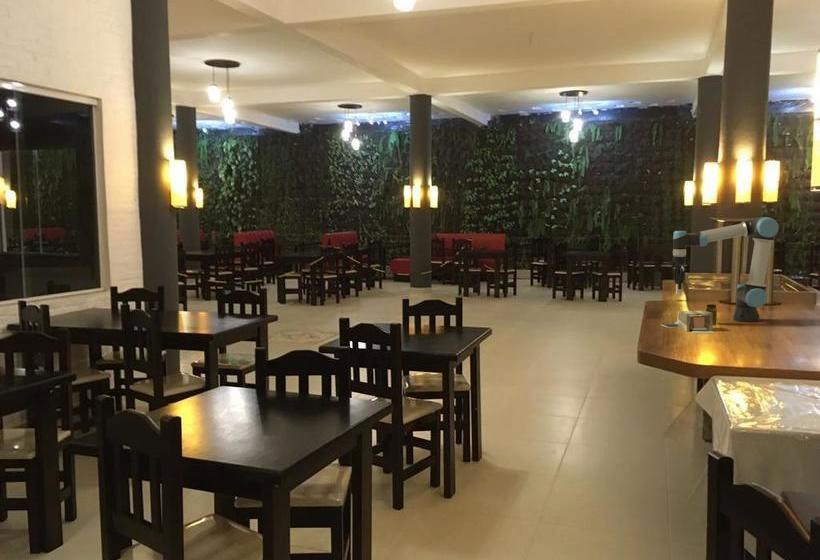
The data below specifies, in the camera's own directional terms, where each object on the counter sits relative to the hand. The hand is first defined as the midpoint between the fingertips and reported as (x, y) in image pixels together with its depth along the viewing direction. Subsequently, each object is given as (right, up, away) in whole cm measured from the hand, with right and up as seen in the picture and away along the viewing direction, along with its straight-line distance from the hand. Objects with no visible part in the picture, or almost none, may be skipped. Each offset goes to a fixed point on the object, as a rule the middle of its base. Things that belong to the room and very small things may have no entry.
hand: (678, 294), depth 425 cm
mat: (+2, -21, -31) cm, 38 cm away
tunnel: (+1, -20, -21) cm, 29 cm away
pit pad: (-3, -19, -7) cm, 21 cm away
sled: (+1, -19, -15) cm, 24 cm away
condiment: (+18, -18, -4) cm, 26 cm away
